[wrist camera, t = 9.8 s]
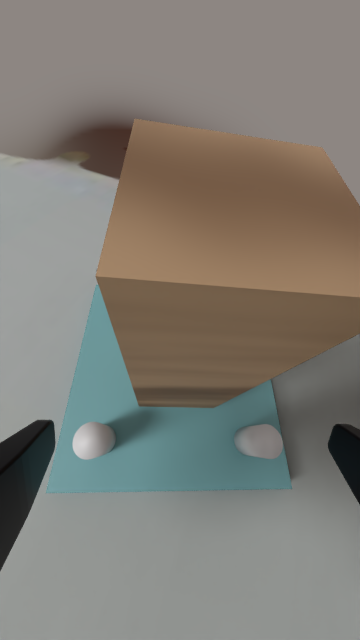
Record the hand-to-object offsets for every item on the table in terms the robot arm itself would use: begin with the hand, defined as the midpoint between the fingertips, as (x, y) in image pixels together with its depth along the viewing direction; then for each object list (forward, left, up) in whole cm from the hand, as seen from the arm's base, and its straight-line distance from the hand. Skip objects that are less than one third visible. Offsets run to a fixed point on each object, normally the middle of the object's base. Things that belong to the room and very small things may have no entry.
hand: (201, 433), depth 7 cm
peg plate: (+3, -3, -9) cm, 10 cm away
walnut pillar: (+3, -3, -8) cm, 9 cm away
